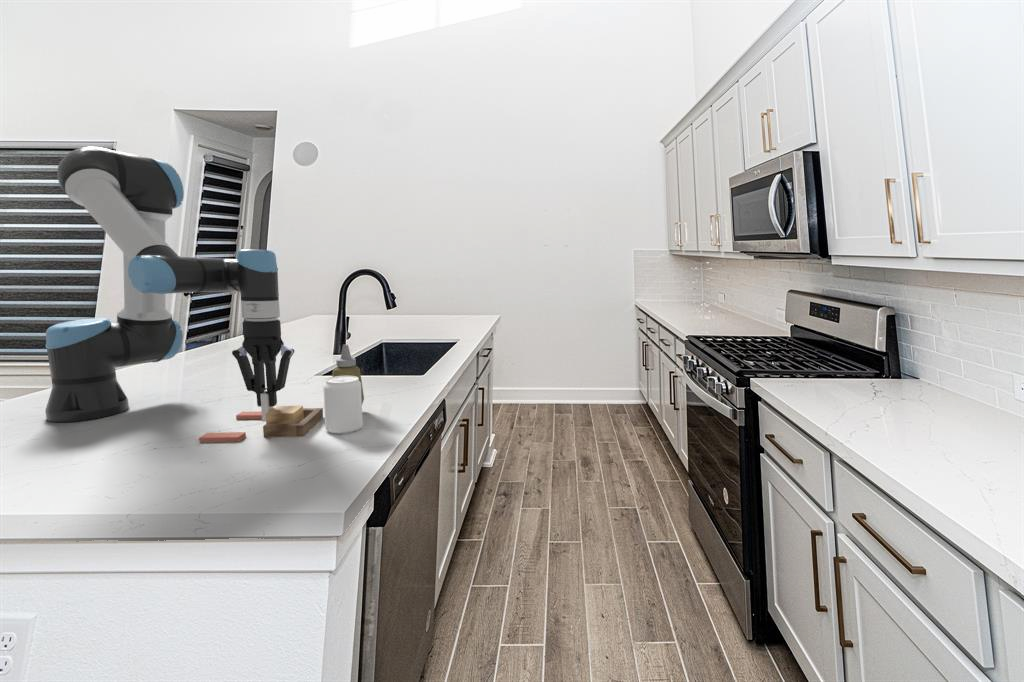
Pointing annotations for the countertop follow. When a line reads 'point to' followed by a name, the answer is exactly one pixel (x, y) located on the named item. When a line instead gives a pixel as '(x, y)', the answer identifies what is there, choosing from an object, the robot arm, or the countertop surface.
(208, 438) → the mats
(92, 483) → the countertop surface
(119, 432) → the countertop surface
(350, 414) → the beverage can
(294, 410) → the oak block
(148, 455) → the countertop surface
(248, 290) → the robot arm
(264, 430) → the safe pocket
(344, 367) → the squeeze bottle
